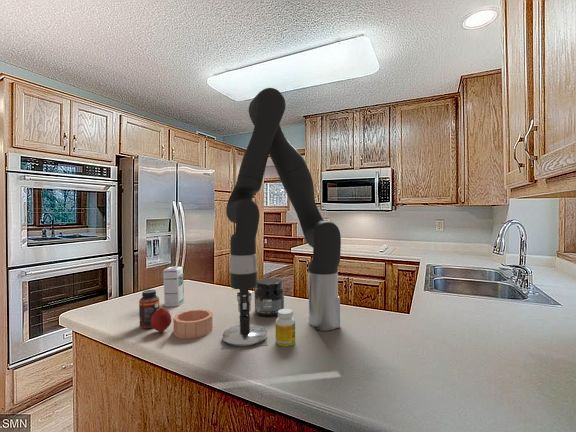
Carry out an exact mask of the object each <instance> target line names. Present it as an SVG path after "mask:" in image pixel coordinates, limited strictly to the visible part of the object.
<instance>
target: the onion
mask: <svg viewBox="0 0 576 432" xmlns="http://www.w3.org/2000/svg"><path fill="white" fill-rule="evenodd" d="M171 324H172V315H171V313H170V312H169V310H167V309H165V308H163V307H162V306H161V305H159V307H158V310H157V311H156V312H155V313H154V314H153V315H152V317H151V325H152V327H153V328H152V329H154V330H155V331H157V332H159V333H164V332H165V331H166V330H168V328H169V327H170V325H171Z"/></svg>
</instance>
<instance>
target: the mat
mask: <svg viewBox="0 0 576 432" xmlns="http://www.w3.org/2000/svg"><path fill="white" fill-rule="evenodd" d="M267 341H268V339H267V338H266V339H265V340H264V341H262V342H260V343H258V344H254V345H250V346H233V345H229V344H227V343H225V342H224V341H223V340H222V343H221V350H230V349H231V350H232V349H242V348H244V349H245V348H254V347H255V348H256V347H266V346H268V342H267Z"/></svg>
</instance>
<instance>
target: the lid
mask: <svg viewBox="0 0 576 432" xmlns="http://www.w3.org/2000/svg"><path fill="white" fill-rule="evenodd" d="M242 316H247V314H243V315H242ZM249 317H250V319H249V333H248V334H242V333H241V321H240V320H239V324H238V325H234V326H231V327H229V328H226V330H223V332H222V342H223V341H224V342H225V343H227V344H229V345H233V346H250V345H254V344H258V343H260V342H262V341H264V340H265V339H266V340H267V337H268V331H267V329H266V328H265V327H264V326H262V325H258V324H252V323H250V322H251V321H250V320H251V316H250V314H249Z"/></svg>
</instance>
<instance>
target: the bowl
mask: <svg viewBox="0 0 576 432" xmlns="http://www.w3.org/2000/svg"><path fill="white" fill-rule="evenodd" d="M213 315H214V313H213V311H210V310H209V309H200V308H199V309H188V310H186V311H181V312H179V313H177V314H175V315H174V316H173V321H172V322H173V335H174V336H175V337H177V338H180V339H197V338H201V337H204V336H207V335H209V334H210V333H212V332H213V329H214V320H213V319H214V317H213Z"/></svg>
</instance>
